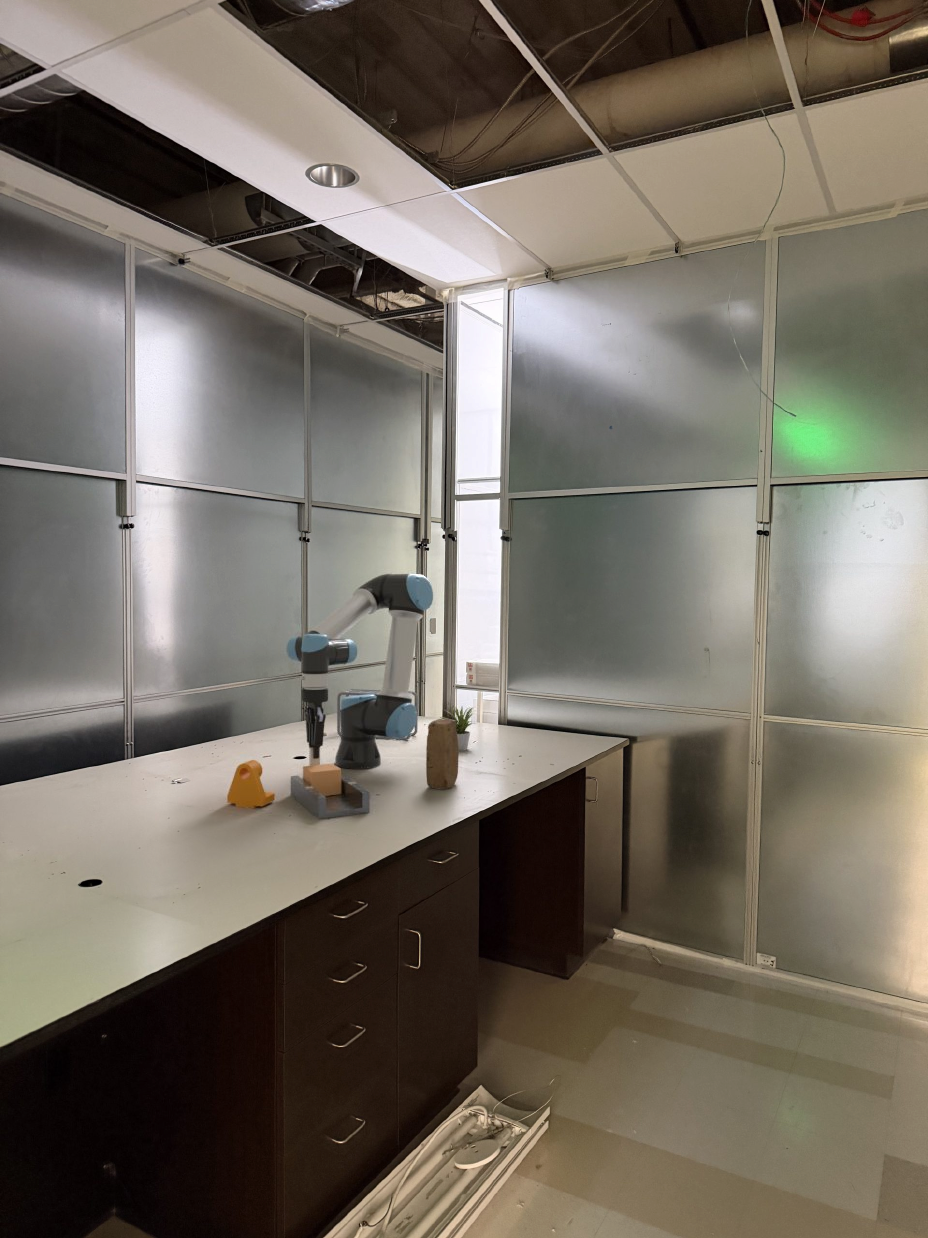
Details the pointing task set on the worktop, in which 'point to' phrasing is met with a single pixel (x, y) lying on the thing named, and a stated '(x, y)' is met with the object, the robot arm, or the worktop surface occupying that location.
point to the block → (442, 754)
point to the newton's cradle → (347, 693)
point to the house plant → (462, 727)
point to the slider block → (323, 778)
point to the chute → (331, 798)
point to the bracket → (249, 787)
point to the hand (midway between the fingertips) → (314, 769)
